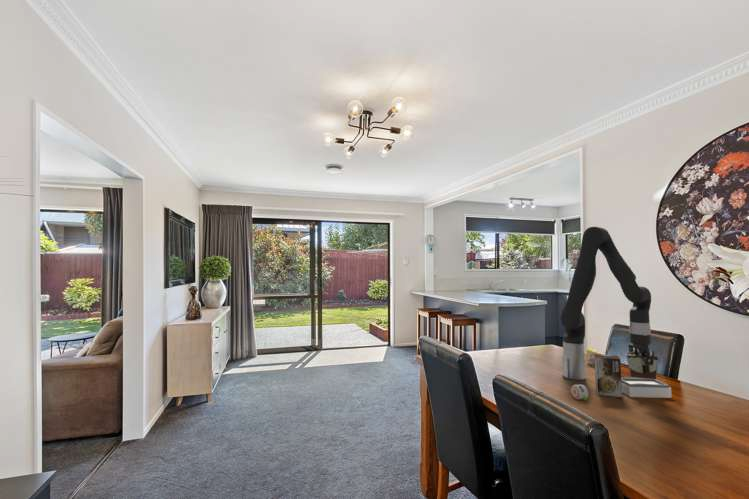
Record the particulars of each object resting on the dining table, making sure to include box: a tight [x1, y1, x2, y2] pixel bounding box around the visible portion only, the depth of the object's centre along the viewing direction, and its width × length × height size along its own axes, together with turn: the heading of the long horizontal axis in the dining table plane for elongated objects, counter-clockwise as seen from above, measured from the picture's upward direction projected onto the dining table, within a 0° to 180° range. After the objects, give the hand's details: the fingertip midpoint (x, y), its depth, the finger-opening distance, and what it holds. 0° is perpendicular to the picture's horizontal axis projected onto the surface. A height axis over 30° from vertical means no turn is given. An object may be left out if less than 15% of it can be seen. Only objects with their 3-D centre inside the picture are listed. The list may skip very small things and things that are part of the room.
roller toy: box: [570, 384, 589, 402], centre depth 152 cm, size 4×6×6 cm
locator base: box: [621, 377, 672, 399], centre depth 158 cm, size 16×11×5 cm, turn 85°
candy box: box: [586, 348, 607, 367], centre depth 198 cm, size 16×2×8 cm, turn 6°
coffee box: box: [594, 353, 623, 398], centre depth 158 cm, size 9×6×16 cm
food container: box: [625, 351, 661, 380], centre depth 160 cm, size 12×6×10 cm, turn 71°
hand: (641, 371), depth 159 cm, fingers closed on food container, 5 cm apart
